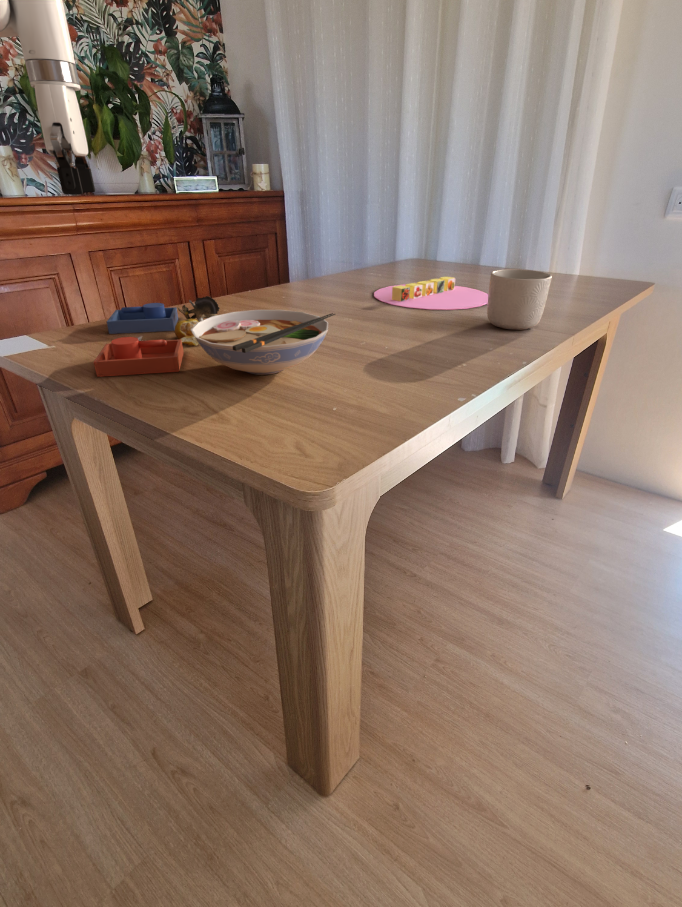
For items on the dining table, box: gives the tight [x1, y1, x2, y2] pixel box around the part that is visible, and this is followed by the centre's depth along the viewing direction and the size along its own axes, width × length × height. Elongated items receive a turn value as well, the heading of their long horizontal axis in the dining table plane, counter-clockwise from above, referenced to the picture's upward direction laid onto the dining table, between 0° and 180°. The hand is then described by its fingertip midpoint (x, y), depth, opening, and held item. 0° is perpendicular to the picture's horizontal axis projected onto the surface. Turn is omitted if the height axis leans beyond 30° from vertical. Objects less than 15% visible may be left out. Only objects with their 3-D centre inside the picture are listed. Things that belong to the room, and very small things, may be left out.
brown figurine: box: [177, 295, 221, 322], centre depth 109 cm, size 8×7×9 cm
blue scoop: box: [120, 302, 166, 319], centre depth 108 cm, size 9×4×4 cm, turn 101°
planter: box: [486, 268, 553, 331], centre depth 108 cm, size 12×12×11 cm
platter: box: [373, 276, 489, 311], centre depth 136 cm, size 32×32×3 cm
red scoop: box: [110, 336, 167, 360], centre depth 87 cm, size 9×4×4 cm, turn 101°
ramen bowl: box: [191, 309, 336, 376], centre depth 84 cm, size 25×23×8 cm
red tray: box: [93, 339, 185, 378], centre depth 87 cm, size 13×10×3 cm
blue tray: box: [106, 306, 179, 335], centre depth 109 cm, size 13×10×3 cm
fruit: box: [173, 318, 200, 346], centre depth 100 cm, size 8×8×4 cm
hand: (80, 193), depth 91 cm, fingers open, 9 cm apart
